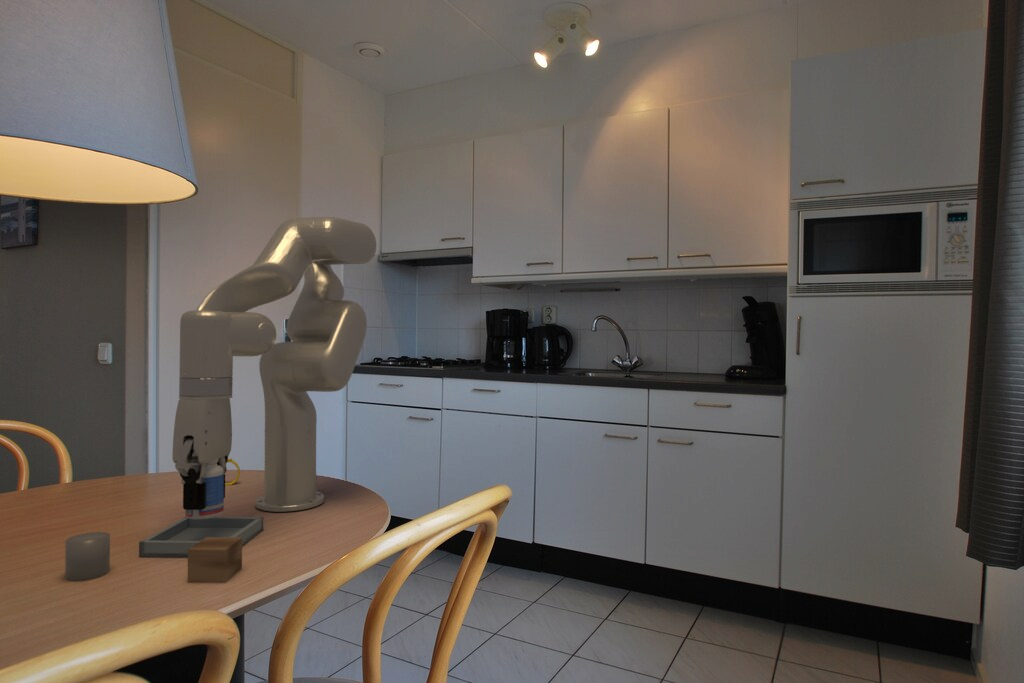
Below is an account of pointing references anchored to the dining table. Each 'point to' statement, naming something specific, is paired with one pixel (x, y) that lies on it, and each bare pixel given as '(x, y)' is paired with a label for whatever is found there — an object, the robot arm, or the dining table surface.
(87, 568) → the smooth grey pebble
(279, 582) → the dining table surface
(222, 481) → the pill bottle
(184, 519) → the slate tray
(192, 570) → the walnut block
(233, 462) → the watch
